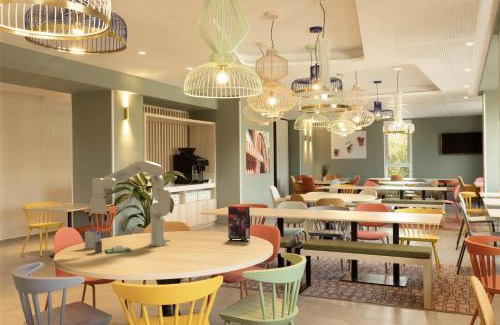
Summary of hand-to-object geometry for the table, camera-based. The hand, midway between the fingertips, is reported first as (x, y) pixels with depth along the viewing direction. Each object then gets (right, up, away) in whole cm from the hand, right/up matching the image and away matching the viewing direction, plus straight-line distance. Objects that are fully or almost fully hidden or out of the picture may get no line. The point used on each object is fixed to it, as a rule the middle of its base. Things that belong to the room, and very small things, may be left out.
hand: (97, 221), depth 306 cm
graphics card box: (+95, -22, +49) cm, 109 cm away
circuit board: (+13, -21, +4) cm, 25 cm away
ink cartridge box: (-9, -22, +17) cm, 29 cm away
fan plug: (+1, -21, -2) cm, 21 cm away
